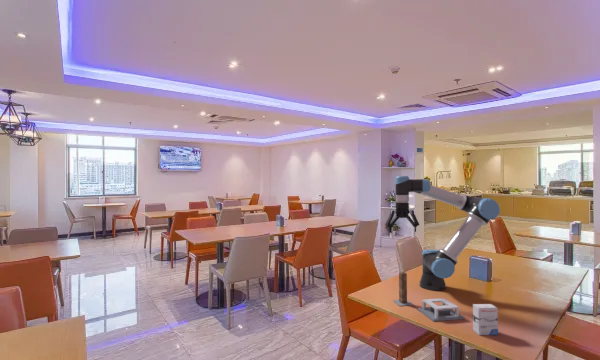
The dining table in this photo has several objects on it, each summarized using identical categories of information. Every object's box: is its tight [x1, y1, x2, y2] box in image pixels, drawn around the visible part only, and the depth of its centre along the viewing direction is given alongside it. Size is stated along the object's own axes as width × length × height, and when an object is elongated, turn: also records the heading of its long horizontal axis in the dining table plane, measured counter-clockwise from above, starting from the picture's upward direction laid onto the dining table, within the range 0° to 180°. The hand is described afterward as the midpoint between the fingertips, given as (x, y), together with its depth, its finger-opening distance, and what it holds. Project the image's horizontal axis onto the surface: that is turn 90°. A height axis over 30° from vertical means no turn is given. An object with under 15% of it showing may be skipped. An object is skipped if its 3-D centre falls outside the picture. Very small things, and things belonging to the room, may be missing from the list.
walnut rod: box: [398, 271, 408, 303], centre depth 175 cm, size 3×3×16 cm
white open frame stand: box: [417, 297, 465, 322], centre depth 160 cm, size 16×14×6 cm
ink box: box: [472, 303, 499, 336], centre depth 140 cm, size 8×5×12 cm, turn 92°
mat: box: [392, 299, 414, 307], centre depth 175 cm, size 8×8×1 cm
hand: (402, 238), depth 190 cm, fingers open, 13 cm apart
